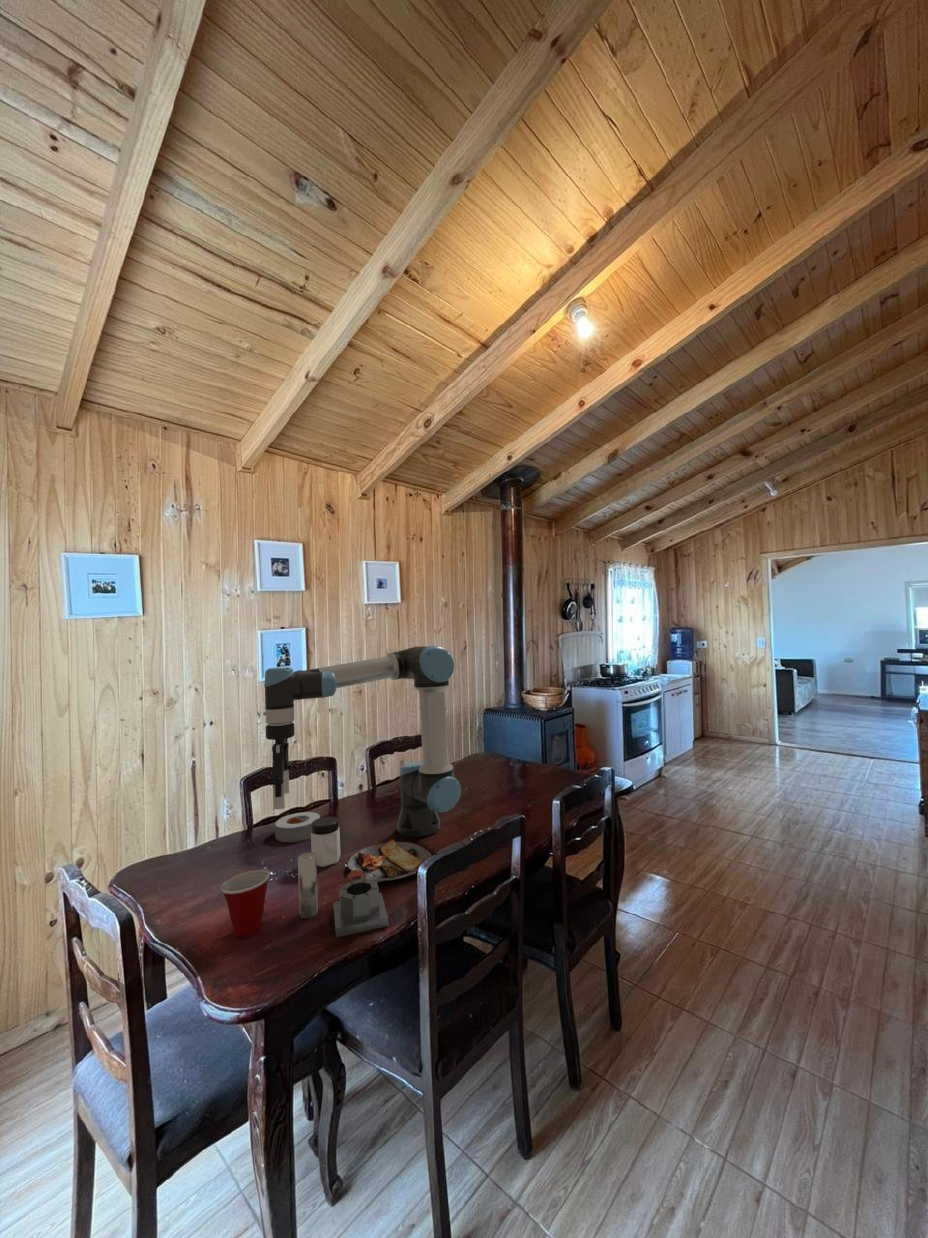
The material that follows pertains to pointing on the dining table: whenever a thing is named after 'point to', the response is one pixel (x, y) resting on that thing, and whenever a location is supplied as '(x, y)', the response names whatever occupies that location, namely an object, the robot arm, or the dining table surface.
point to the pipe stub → (307, 885)
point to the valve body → (359, 906)
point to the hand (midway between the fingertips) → (281, 800)
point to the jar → (326, 840)
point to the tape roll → (295, 827)
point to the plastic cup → (246, 900)
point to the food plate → (388, 860)
